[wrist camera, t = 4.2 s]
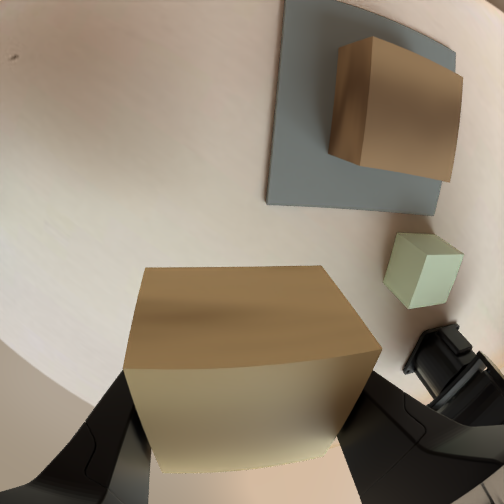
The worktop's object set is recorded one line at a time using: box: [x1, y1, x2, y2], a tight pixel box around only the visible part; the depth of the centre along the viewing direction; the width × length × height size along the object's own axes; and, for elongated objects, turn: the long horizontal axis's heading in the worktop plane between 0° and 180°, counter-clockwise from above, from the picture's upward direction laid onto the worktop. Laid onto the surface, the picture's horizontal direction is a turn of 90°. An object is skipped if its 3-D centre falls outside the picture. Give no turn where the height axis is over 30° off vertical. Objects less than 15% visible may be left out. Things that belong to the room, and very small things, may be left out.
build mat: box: [266, 0, 456, 216], centre depth 17 cm, size 14×14×1 cm
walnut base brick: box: [328, 36, 463, 183], centre depth 15 cm, size 7×7×4 cm
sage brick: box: [383, 233, 464, 309], centre depth 21 cm, size 4×4×4 cm
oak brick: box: [123, 266, 382, 473], centre depth 9 cm, size 6×6×4 cm
